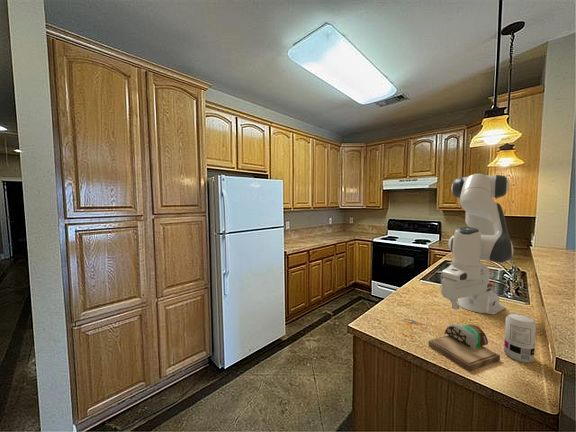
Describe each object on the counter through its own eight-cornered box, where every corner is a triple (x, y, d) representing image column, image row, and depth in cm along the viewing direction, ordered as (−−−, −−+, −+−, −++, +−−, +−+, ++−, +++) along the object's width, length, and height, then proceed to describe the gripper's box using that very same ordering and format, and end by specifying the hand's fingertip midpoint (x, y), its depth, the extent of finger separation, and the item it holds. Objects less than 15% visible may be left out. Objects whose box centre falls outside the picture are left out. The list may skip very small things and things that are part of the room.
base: (456, 337, 105) (456, 332, 105) (499, 360, 90) (500, 354, 90) (428, 345, 100) (428, 340, 100) (469, 371, 85) (469, 365, 85)
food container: (492, 330, 95) (473, 334, 92) (491, 346, 95) (472, 350, 93) (462, 316, 107) (444, 319, 104) (461, 329, 107) (443, 333, 104)
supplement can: (498, 350, 96) (500, 313, 95) (517, 349, 97) (519, 312, 96) (519, 364, 88) (521, 323, 87) (540, 363, 89) (543, 322, 88)
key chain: (399, 323, 118) (399, 321, 118) (405, 318, 123) (405, 316, 123) (429, 333, 109) (429, 332, 109) (434, 327, 114) (434, 325, 114)
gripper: (475, 265, 99) (474, 298, 101) (438, 272, 92) (437, 307, 94) (493, 269, 93) (491, 305, 95) (454, 277, 87) (453, 315, 88)
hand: (464, 306), depth 94 cm, fingers open, 8 cm apart
